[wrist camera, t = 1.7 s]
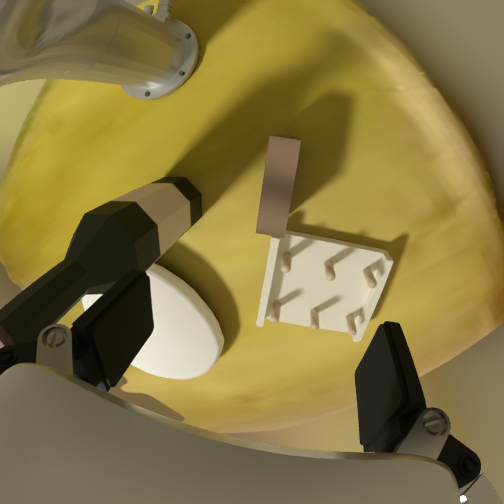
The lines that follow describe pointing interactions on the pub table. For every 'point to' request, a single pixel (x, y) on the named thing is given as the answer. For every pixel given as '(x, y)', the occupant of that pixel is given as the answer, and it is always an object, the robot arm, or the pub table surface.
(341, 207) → the pub table surface
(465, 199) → the pub table surface
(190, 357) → the plate
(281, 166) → the walnut board
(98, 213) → the wine bottle
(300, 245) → the rack
